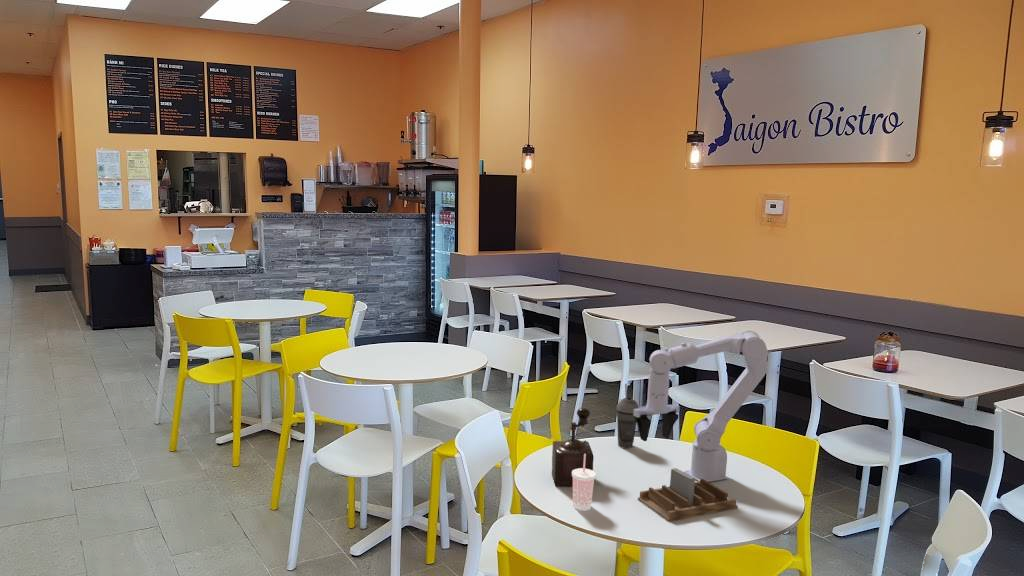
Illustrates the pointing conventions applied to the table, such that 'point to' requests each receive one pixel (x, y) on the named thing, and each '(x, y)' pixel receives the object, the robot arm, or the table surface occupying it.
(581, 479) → the beverage cup
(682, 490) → the grey upright slab
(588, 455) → the coffee grinder
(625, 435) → the beverage cup
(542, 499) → the table surface
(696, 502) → the dish rack
